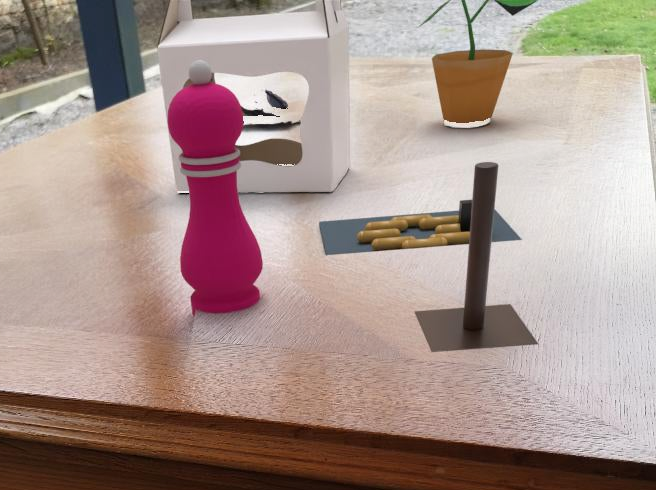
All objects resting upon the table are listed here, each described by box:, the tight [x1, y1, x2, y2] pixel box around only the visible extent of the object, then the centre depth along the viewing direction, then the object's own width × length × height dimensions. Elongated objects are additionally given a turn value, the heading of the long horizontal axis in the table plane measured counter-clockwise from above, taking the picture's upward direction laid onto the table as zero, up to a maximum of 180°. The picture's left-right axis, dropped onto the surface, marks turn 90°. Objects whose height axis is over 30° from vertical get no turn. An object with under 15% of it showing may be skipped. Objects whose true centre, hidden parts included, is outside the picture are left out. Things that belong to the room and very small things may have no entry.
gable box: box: [156, 0, 351, 193], centre depth 101 cm, size 22×13×28 cm, turn 76°
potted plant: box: [418, 0, 538, 123], centre depth 121 cm, size 18×19×30 cm
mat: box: [318, 208, 523, 256], centre depth 82 cm, size 20×18×1 cm
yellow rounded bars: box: [357, 199, 472, 252], centre depth 81 cm, size 14×9×3 cm
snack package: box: [241, 89, 289, 117], centre depth 140 cm, size 12×6×12 cm
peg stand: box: [414, 161, 539, 353], centre depth 58 cm, size 8×8×13 cm
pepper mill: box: [166, 60, 264, 317], centre depth 65 cm, size 7×7×20 cm
